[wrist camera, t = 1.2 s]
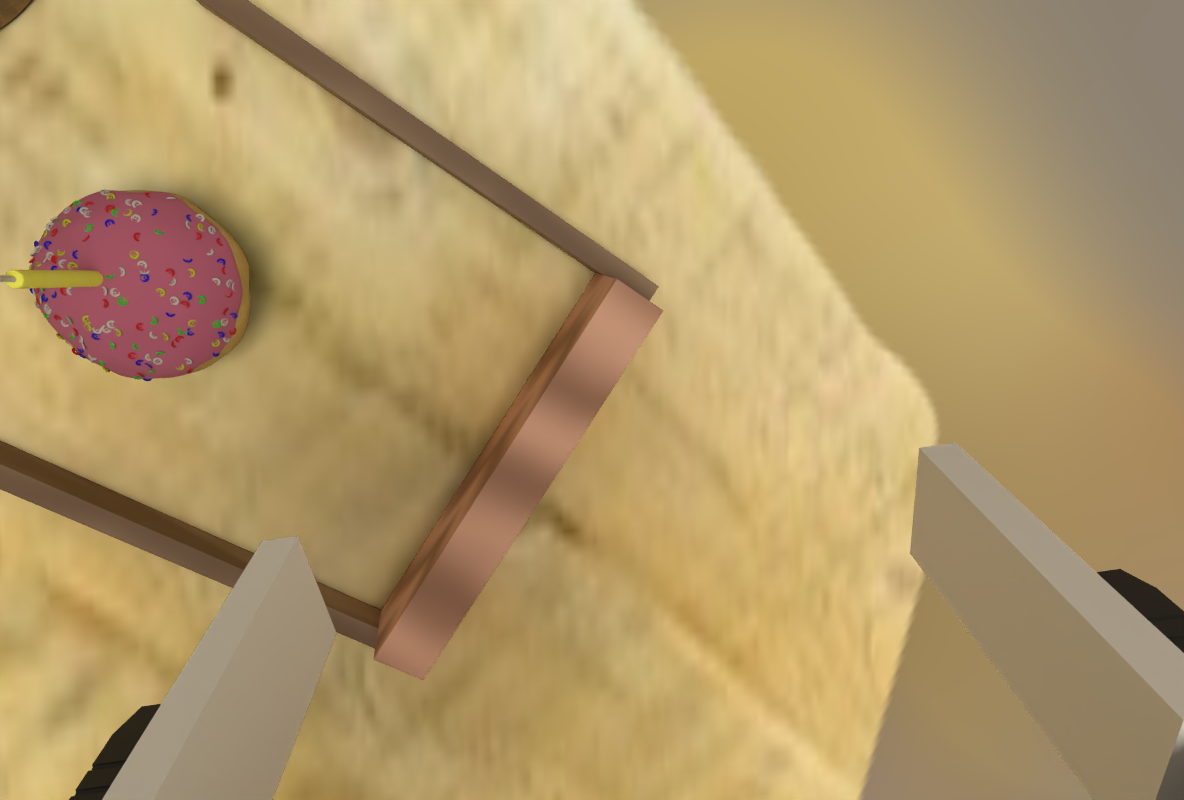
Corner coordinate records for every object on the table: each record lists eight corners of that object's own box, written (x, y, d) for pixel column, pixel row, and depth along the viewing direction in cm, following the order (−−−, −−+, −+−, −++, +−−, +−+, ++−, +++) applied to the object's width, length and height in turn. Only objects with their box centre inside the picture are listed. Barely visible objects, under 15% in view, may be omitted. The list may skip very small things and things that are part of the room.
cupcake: (66, 324, 34) (-119, 371, 23) (115, 162, 33) (-55, 127, 22) (244, 383, 37) (156, 452, 26) (295, 234, 36) (227, 235, 24)
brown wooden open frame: (415, 645, 43) (411, 697, 38) (-43, 446, 35) (-120, 480, 30) (648, 283, 40) (676, 290, 36) (214, -17, 32) (175, -60, 28)
